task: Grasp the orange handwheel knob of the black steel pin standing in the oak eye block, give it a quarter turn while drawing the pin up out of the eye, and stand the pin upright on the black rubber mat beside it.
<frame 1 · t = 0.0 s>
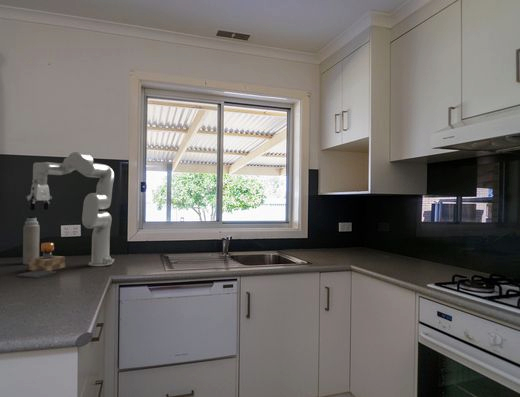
hand: (39, 209, 213), 31 cm above the worktop, tool pointing down, fingers open, 9 cm apart
eye block: (47, 268, 189), on the worktop
thermos bottle: (31, 263, 202), on the worktop
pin: (47, 256, 189), in the eye block
mat: (37, 274, 174), on the worktop
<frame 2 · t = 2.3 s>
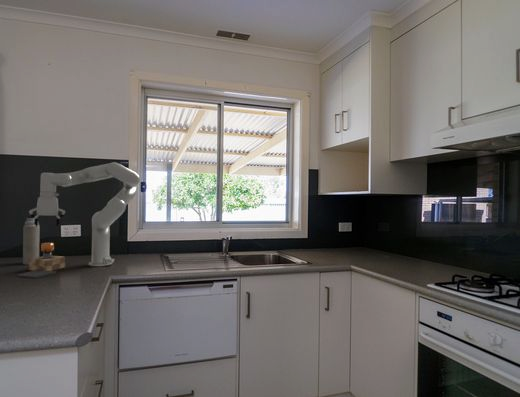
hand: (47, 226, 188), 24 cm above the worktop, tool pointing down, fingers open, 9 cm apart
nothing on the worktop moved.
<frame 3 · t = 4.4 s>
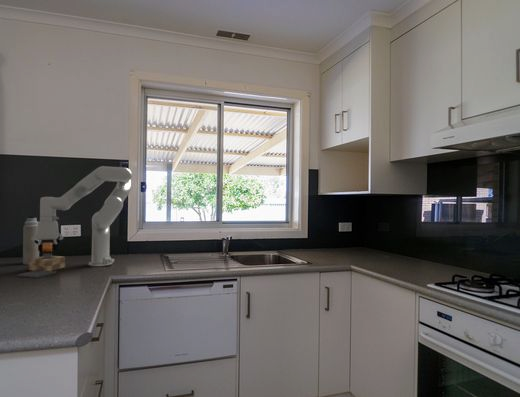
hand: (47, 251, 189), 10 cm above the worktop, tool pointing down, fingers closed on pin, 6 cm apart
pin: (47, 256, 189), in the eye block, touching gripper
everything else where it was.
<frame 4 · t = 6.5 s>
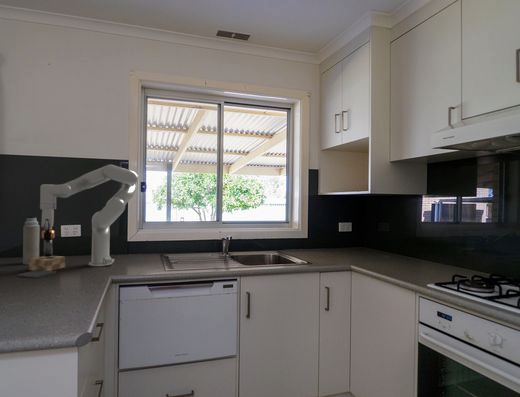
hand: (48, 238, 189), 17 cm above the worktop, tool pointing down, fingers closed on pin, 6 cm apart
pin: (48, 243, 189), point 14 cm above the worktop, touching gripper
everything else where it was.
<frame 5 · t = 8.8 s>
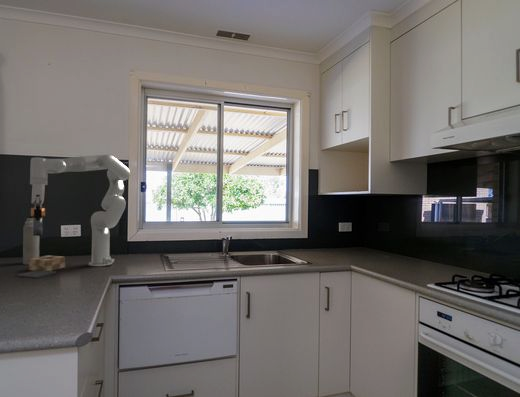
hand: (38, 216, 175), 30 cm above the worktop, tool pointing down, fingers closed on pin, 6 cm apart
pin: (37, 221, 175), point 27 cm above the worktop, touching gripper
everything else where it was.
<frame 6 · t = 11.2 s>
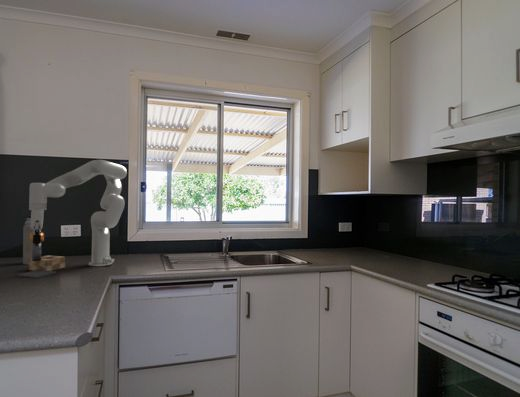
hand: (37, 241, 174), 17 cm above the worktop, tool pointing down, fingers closed on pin, 6 cm apart
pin: (36, 246, 174), point 14 cm above the worktop, touching gripper
everything else where it was.
when the fingers open (11 cm above the worktop, at t = 13.3 s): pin stays where it is, resting on mat.
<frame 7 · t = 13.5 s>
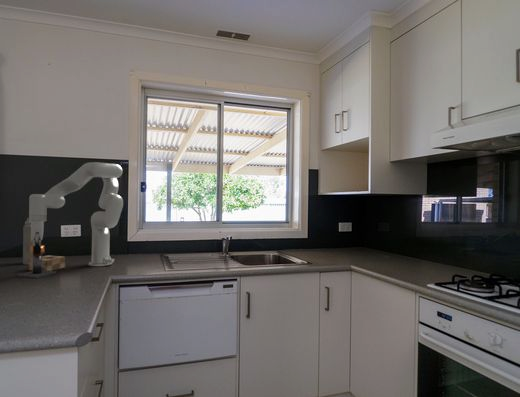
hand: (37, 252, 174), 11 cm above the worktop, tool pointing down, fingers open, 7 cm apart
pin: (37, 259, 174), on the mat, point 8 cm above the worktop
everything else where it was.
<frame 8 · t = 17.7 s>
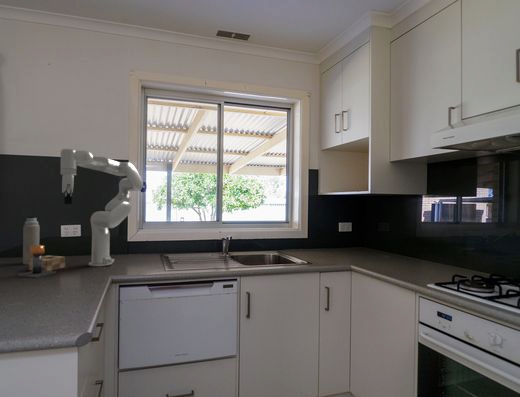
hand: (68, 203, 184), 36 cm above the worktop, tool pointing down, fingers open, 9 cm apart
nothing on the worktop moved.
at the end: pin inside the target area on the mat (0.0 cm from its centre), point 7.8 cm above the mat's base; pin tilted 0°; the gripper is holding nothing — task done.
